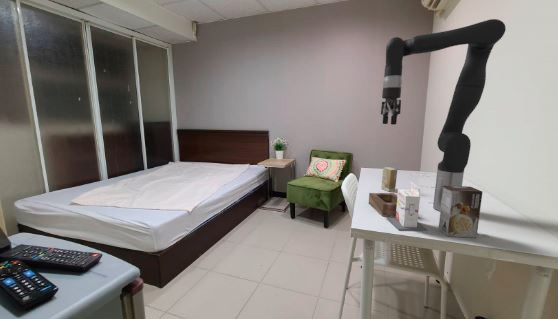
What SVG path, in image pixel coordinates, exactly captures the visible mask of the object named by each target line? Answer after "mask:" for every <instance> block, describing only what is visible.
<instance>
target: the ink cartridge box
mask: <svg viewBox="0 0 558 319" xmlns="http://www.w3.org/2000/svg"><path fill="white" fill-rule="evenodd" d="M420 201H421V188H420V186H418V185H416V184H415V183H413V182H412V181H410V189H403V188H400V189H399V188H398V189H397V208H396V216H395V218H396V219H397V220H398V221H399V222H400V224H401V225H402V226H403V227H415V228H417V222H418V223H419V221H418V220H419V210H420Z"/></svg>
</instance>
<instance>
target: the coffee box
mask: <svg viewBox="0 0 558 319" xmlns="http://www.w3.org/2000/svg"><path fill="white" fill-rule="evenodd" d="M482 199H483V191H481V190H480V189H477V188H475V187H473V186H465V185H464V186H463V185H462V186H443V192H442V201H441V210H440V211H439V213H440V214H439V221H438V229H439V230H440V231H441V232H442V233H443V234H444V235H445V236H447V237H452V238H453V237H455V238H457V237H458V238H471V239H472V238H474V239H476V238H477V236H478V229H479V223H480V214H481V206H482Z"/></svg>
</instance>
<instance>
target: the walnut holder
mask: <svg viewBox="0 0 558 319" xmlns="http://www.w3.org/2000/svg"><path fill="white" fill-rule="evenodd" d="M397 196H398V194H396V193H395V192H369V194H368V204H369V206H371V207H372V208H373V209H374V210H375V211H376V212H377V213H378V214H379V215H380V216H381V217H396V208H397Z"/></svg>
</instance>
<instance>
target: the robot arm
mask: <svg viewBox="0 0 558 319" xmlns="http://www.w3.org/2000/svg"><path fill="white" fill-rule="evenodd" d="M506 28H507V27H506V24H505V23H504V21H502V20H500V19H497V18H492V19H491V18H490V19H487V20H483V21H480V22H477V23H474V24H470V25H467V26H463V27H459V28H455V29H450V30H449V29H448V30H445V31H439V32H432V33H426V34H420V35H415V36H413V37H411V38H409V39H403V38H401V37H398V36H396V37H392V38H390V39H389V40H388V42H387V43H386V46H385V67H384V76H383V77H384V78H383V83H382V92H381V94H382V96H381V97H382V99H385V101H381V107H380V115H382V125H387V124H388V123H389V114H391V118H390V125H397V121H398V116H399V115H401V108H402V106H401V104H402V100H401V99H400V98H401V95H402V83H403V80H402V79H403V78H402V76H403V58H404V57H407V56H410V55H417V54H426V53H432V52H436V51H437V52H438V51H441V50H445V49H447V48H451V47H456V46H462V45H467V51H466V55H465V60H464V64H463V66H462V68H461V71H460V73H459V76H458V79H457V81H456V85H455V88H454V90H453V91H454V92H453V95H452V99H451V102H450V106H449V108H448V111H447V116H446V119H445V122H444V125H443V127H442V129H441V131H440V134H439V136H438V139H437V147H438V149H439V151H441V152H442V153H443V156H442V160H441V161H439V162H438V163H437V170H436V178H435V188H434V196H433V203H432V204H433V206H432V208H433V209H434V210H436V211H439V212H440V210H441V201H442V192H443V186H463V182H464V175H465V168H466V167H467V165H468V162H469V158H470V153H471V147H472V146H471V139H470V137H469V136H468V135H467V134H465V133H463V131H464V126H465V124H466V122H467V120H468V118H469V117H470V116H471V114H472V113H473V112H474V110H475V109H476V108H477V106H479V103H480V100H481V98H482V96H483V93H484V89H485V85H486V80H487V78H486V77H487V63H488V60H489V58H490V55H491V54H492V50H493V48H494V46H495V44H497V43H498V42H499V41H500V40H502V38H503V37H504V35H505V33H506Z"/></svg>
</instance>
